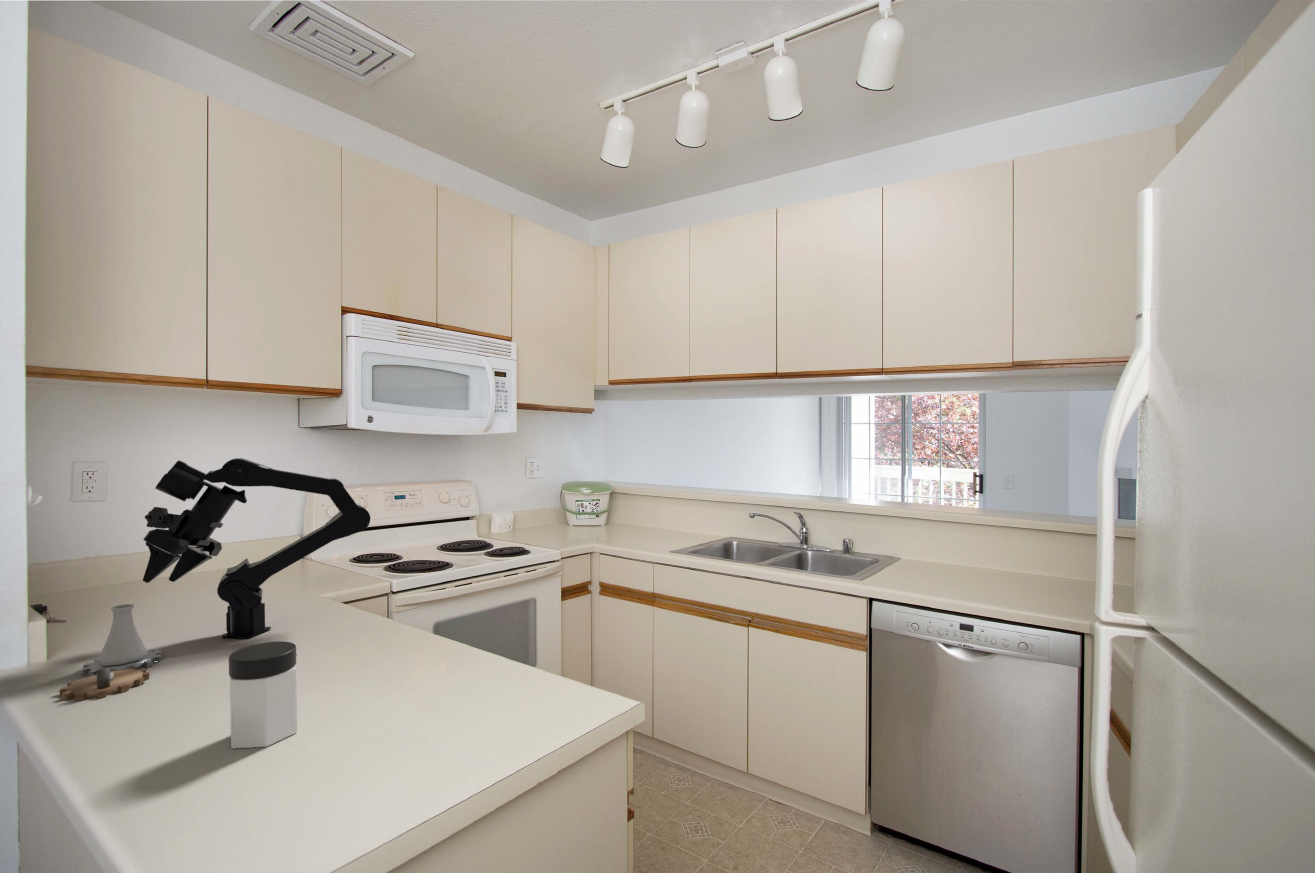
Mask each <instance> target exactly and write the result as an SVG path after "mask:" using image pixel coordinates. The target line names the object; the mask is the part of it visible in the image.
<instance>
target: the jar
mask: <svg viewBox="0 0 1315 873" xmlns="http://www.w3.org/2000/svg"><path fill="white" fill-rule="evenodd" d="M297 655H298V654H297V645H296V644H295V643H293V642H291V641H277V640H276V641H268V642H260V643H256V644H252V645H248V646H245V647H242V648H239V649H236V650H235V651H233V652H232V653H231V654H230V655H229V656H228V676H229V715H230V716H229V718H230V720H229V722H230V724H229V726H230V727H229V728H230V748H231V749H233V750H234V749H235V750H236V748H238V749H250V748H251V749H255V747H256V748H266V747H267V748H268V747H269V746H272V745H273V744H276V743H279V742H280V741H282V740H284V739H286V738H288V737H290V736H292V735H295V734H296V733H297V732H298V729H299V728H298V725H299V724H298V723H299V722H298V721H299V720H298V668H297V665H296V664H297Z"/></svg>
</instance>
